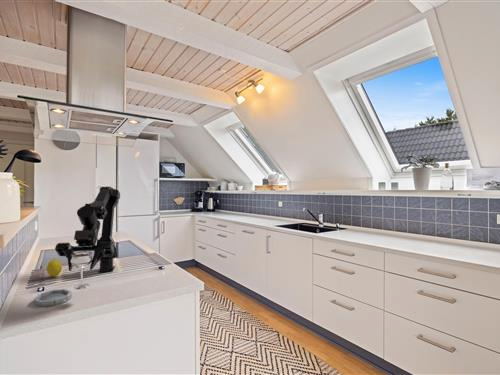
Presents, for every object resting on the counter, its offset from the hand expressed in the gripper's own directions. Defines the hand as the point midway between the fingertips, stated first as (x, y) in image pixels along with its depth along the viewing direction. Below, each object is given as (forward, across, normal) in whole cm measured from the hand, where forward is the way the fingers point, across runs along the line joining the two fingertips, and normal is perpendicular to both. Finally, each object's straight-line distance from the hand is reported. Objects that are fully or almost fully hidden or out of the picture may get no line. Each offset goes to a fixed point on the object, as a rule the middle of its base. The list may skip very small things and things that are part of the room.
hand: (80, 270), depth 101 cm
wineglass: (+4, 0, +6) cm, 7 cm away
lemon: (-11, -20, +30) cm, 37 cm away
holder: (+6, -10, +12) cm, 17 cm away
